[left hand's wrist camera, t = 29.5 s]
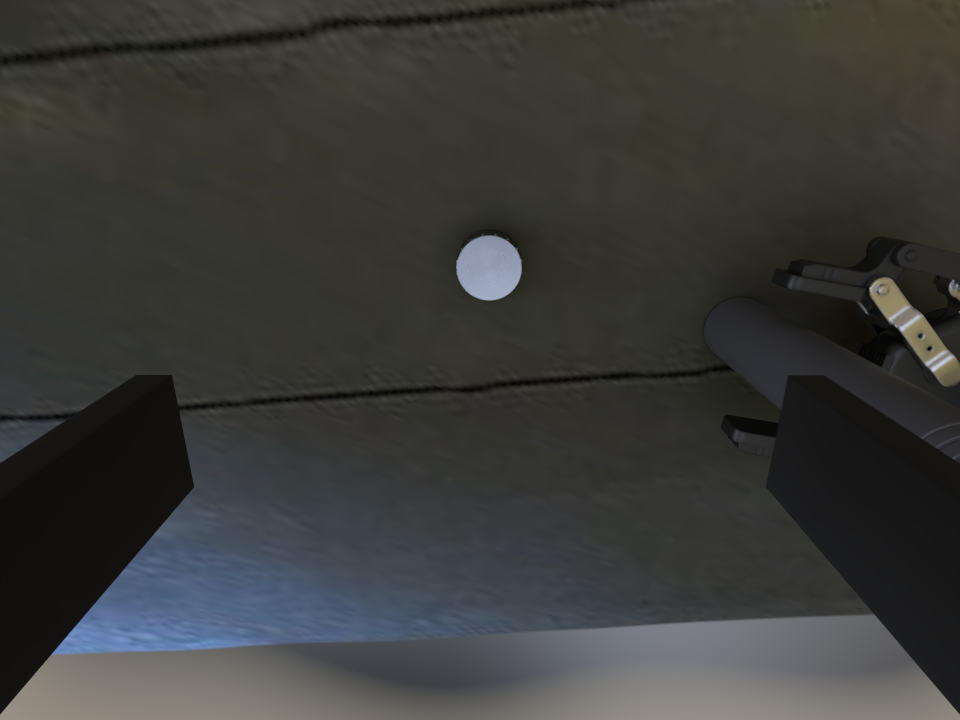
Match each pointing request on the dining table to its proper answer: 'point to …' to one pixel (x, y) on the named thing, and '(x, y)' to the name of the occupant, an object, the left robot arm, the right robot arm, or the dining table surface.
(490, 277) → the cap
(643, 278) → the dining table surface
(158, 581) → the dining table surface
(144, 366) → the dining table surface
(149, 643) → the dining table surface
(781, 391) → the dark grey cylinder
